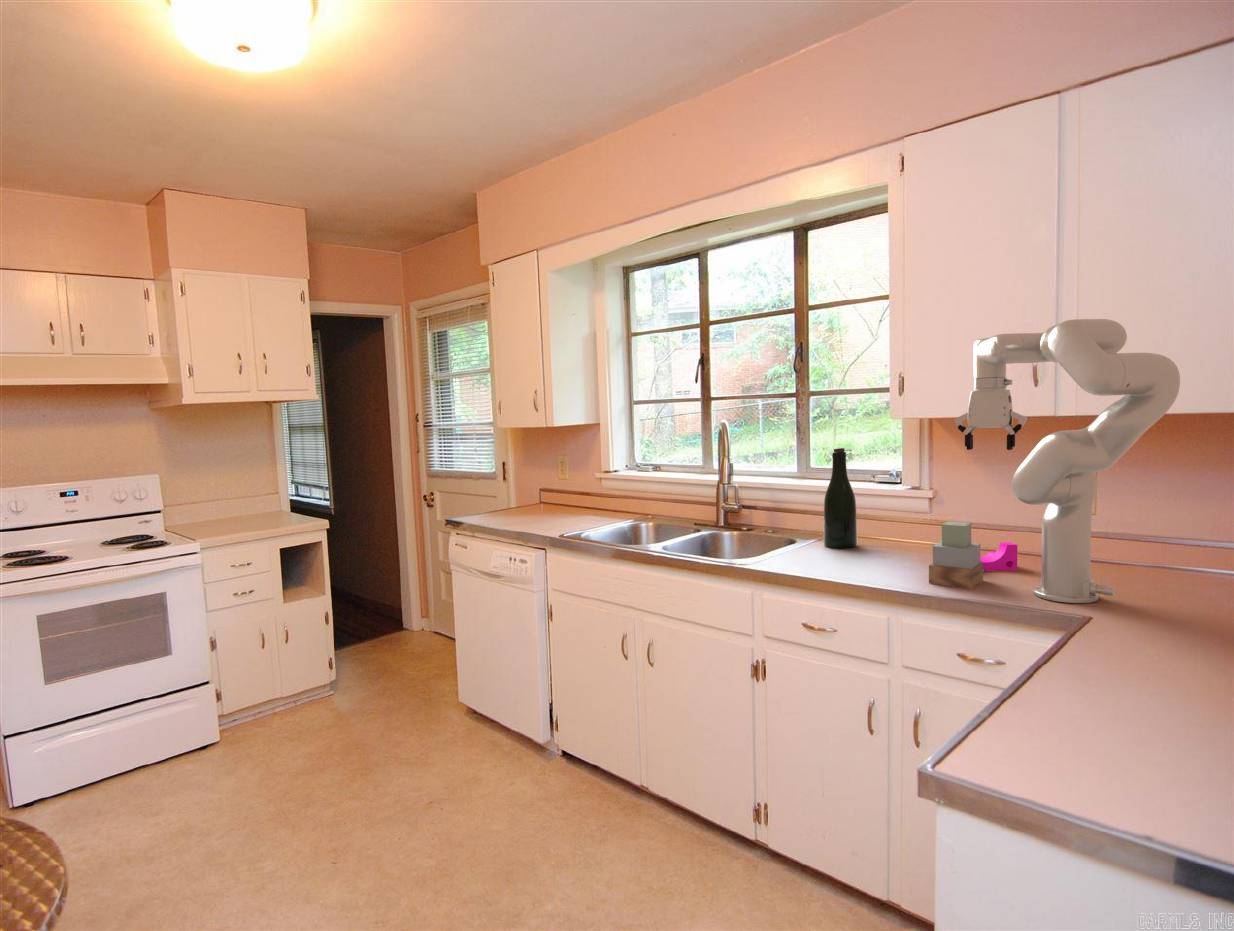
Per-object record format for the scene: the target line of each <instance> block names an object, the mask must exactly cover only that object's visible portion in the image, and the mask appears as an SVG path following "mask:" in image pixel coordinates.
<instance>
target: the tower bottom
mask: <svg viewBox="0 0 1234 931" xmlns="http://www.w3.org/2000/svg"><path fill="white" fill-rule="evenodd" d="M982 580H983V581H984V571H983V563H981V562H980V563H979V564H978V565H977V566H975V567H974V568H973V569H963V568H953V567H944V566H935V565H933V562H932V563H930V564H928V584H930V583H933V584H932V585H937V584H941V585H940V586H944V585H948V586H947V587H952V586H954V587H953V588H959V587H960V589H968V590H972V589H974V588H975V587H976V586H978V585H979V584H980V583H982V582H983V581H982ZM977 584H978V585H977Z"/></svg>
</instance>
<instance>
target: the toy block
mask: <svg viewBox="0 0 1234 931" xmlns="http://www.w3.org/2000/svg"><path fill="white" fill-rule="evenodd" d="M980 562H981V563H983V570H1004V571H1018V544H1016V543H1014V542H1011V541H1007V542H1005V541H1004V542H1003V541H1002V542H999V545H998V548H997V550H996V551H995V550H994V551H993V550H991V551H989V552H988V553H987V554H985V555H983V556H980Z"/></svg>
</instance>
